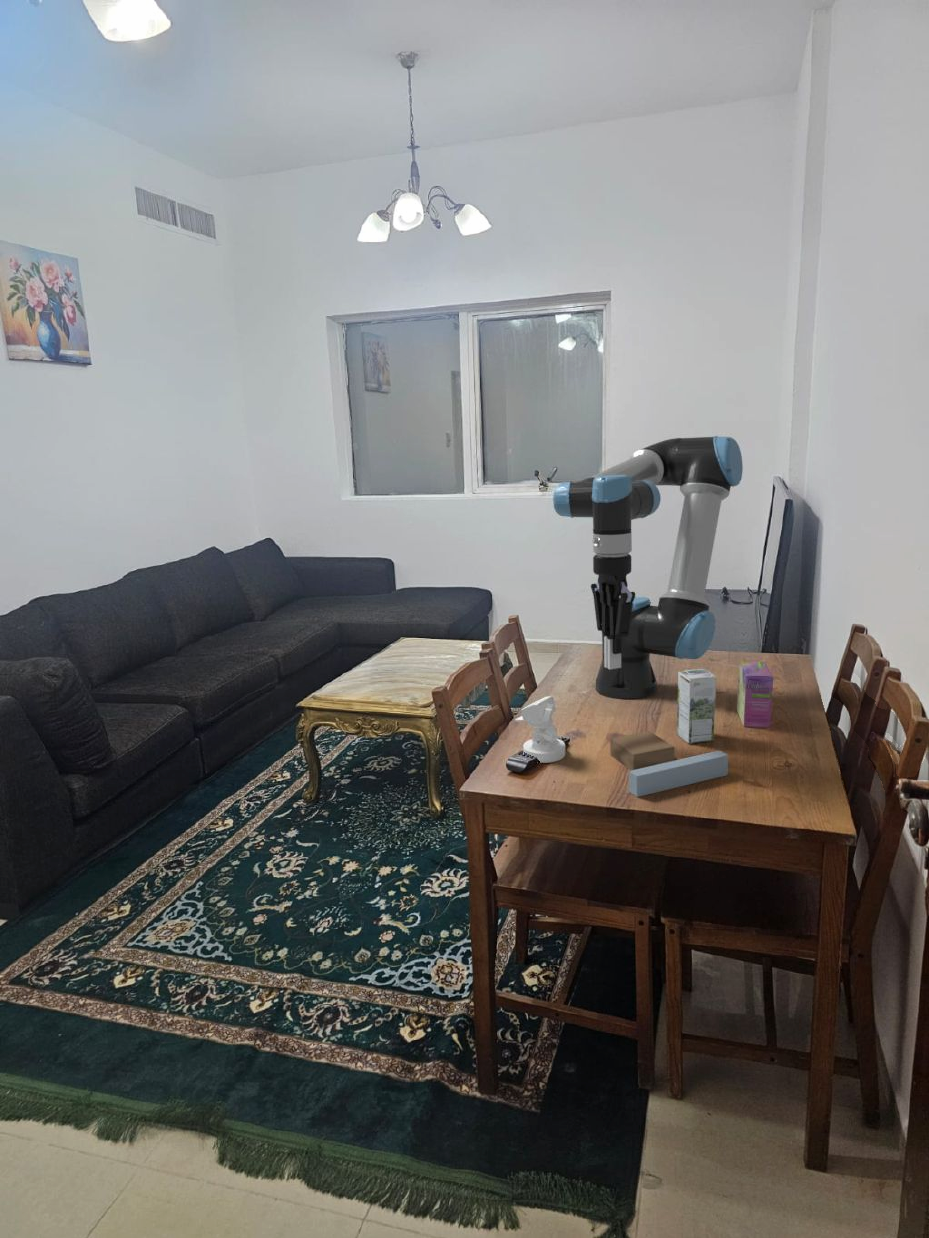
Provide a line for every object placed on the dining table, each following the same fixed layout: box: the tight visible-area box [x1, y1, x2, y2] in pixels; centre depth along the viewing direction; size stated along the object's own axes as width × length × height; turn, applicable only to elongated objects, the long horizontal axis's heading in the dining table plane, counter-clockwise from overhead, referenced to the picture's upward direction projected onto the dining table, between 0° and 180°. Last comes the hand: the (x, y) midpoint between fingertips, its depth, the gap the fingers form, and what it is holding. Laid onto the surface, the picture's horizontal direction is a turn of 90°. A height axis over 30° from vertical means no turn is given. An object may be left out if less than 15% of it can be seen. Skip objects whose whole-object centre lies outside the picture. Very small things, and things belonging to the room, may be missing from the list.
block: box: [609, 730, 675, 771], centre depth 153 cm, size 9×9×4 cm
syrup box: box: [676, 668, 717, 745], centre depth 161 cm, size 6×6×14 cm
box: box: [736, 661, 774, 729], centre depth 170 cm, size 10×6×12 cm, turn 168°
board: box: [628, 750, 729, 798], centre depth 142 cm, size 2×20×4 cm, turn 111°
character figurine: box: [514, 695, 566, 764], centre depth 157 cm, size 9×10×12 cm
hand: (612, 667), depth 159 cm, fingers closed
